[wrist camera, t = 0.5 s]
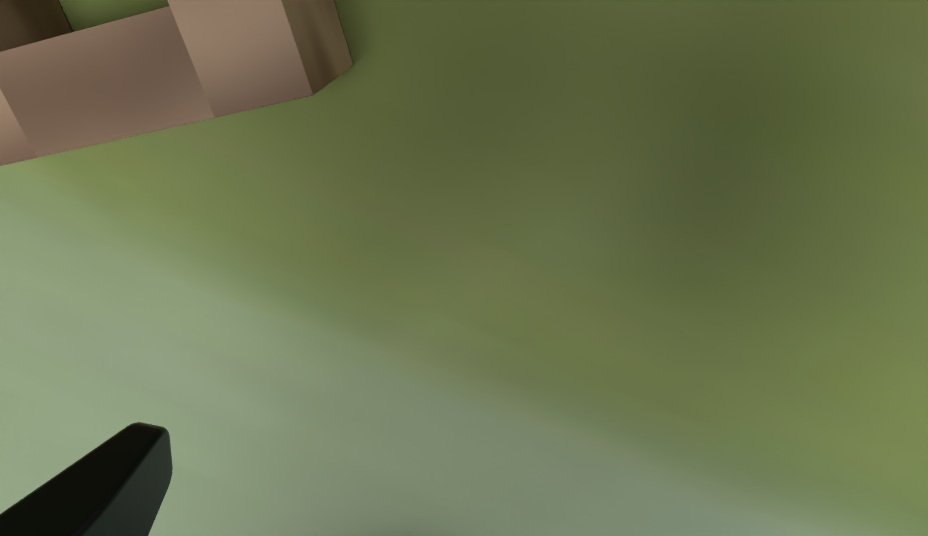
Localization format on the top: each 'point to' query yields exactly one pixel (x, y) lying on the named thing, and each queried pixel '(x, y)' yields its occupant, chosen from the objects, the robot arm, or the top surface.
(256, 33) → the brown rectangular frame
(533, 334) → the top surface
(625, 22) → the top surface
